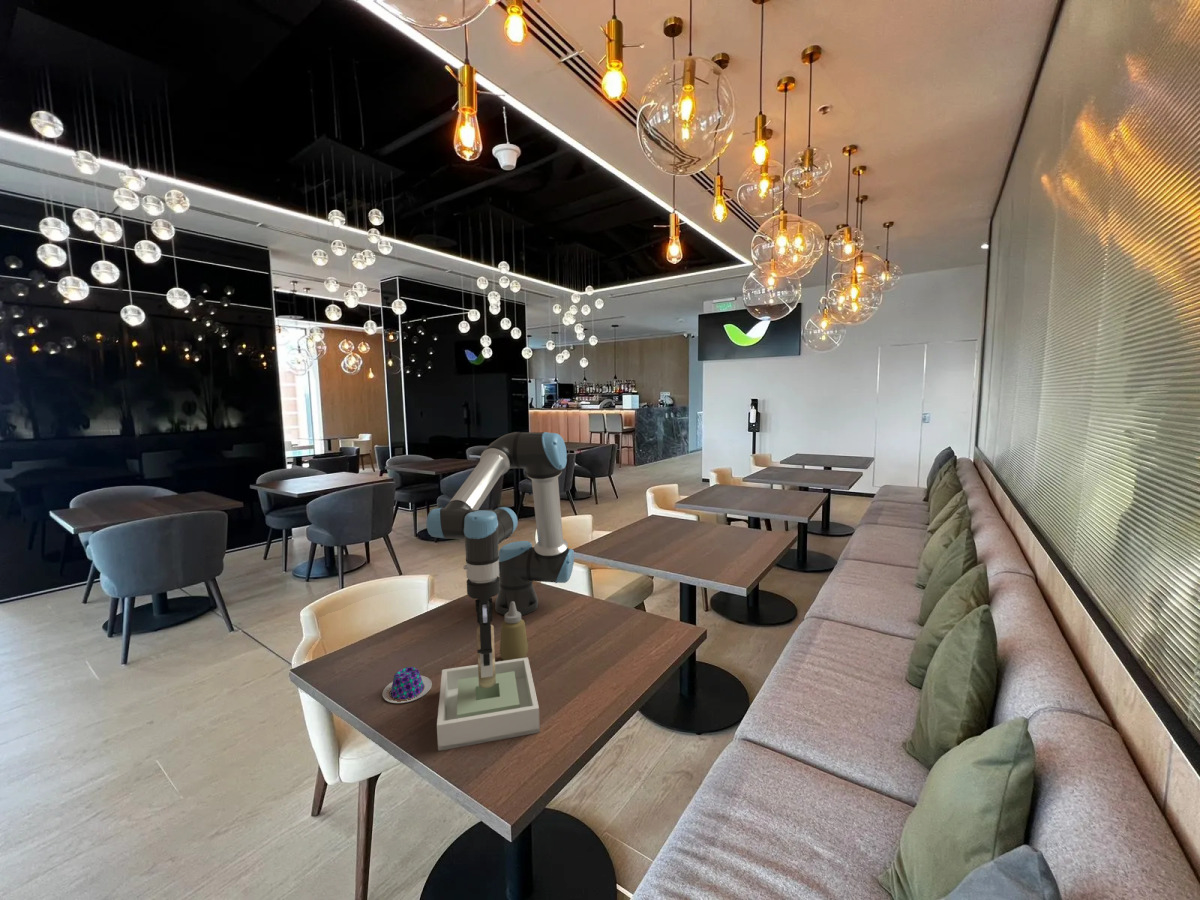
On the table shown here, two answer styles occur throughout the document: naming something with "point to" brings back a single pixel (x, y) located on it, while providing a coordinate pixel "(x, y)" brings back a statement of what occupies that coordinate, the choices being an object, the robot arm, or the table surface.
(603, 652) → the table surface
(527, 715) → the open box
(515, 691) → the bore plate
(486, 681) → the peg
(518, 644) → the squeeze bottle
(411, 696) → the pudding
